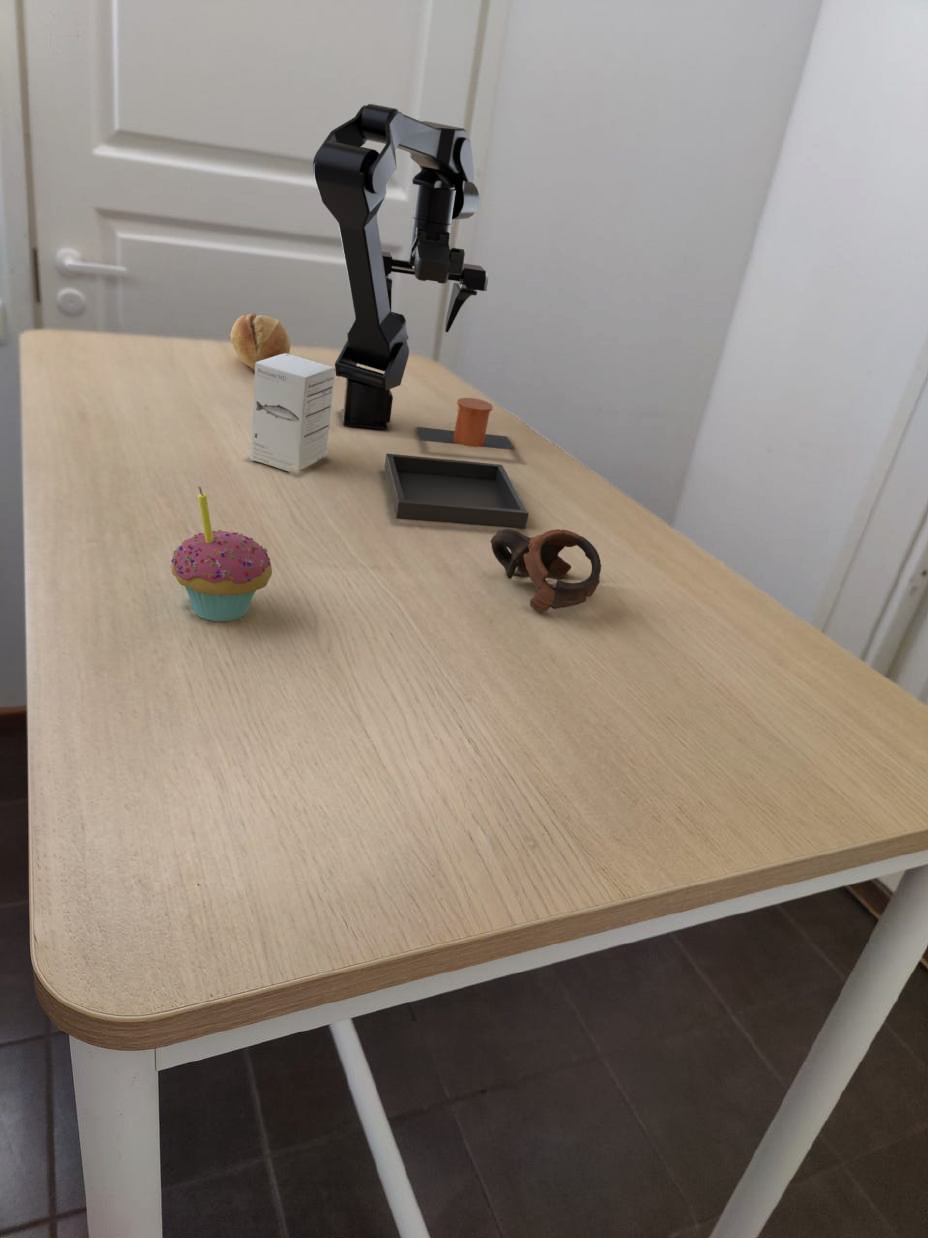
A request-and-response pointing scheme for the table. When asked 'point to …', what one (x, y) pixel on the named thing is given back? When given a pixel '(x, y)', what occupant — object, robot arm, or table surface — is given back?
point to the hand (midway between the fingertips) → (417, 327)
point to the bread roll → (259, 338)
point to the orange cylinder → (471, 422)
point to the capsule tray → (453, 492)
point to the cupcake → (220, 570)
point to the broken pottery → (547, 565)
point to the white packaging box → (291, 411)
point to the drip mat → (448, 435)
